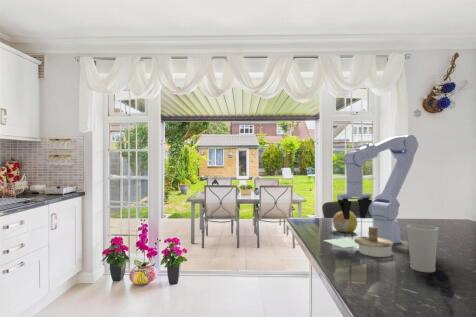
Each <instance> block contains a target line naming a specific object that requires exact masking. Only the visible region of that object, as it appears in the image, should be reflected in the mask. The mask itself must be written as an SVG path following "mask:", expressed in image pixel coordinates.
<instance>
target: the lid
mask: <svg viewBox="0 0 476 317" xmlns="http://www.w3.org/2000/svg"><path fill="white" fill-rule="evenodd" d="M353 240H354V242H355V243H357V244H360V245H364V246H370V247H390V246H394V245H393V244H394V243H393V242H392V241H391V240H388V239H384V238H379V237H378V228H377V227H373V226H368V236H357V237H355V238H354V239H353Z"/></svg>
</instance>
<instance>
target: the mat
mask: <svg viewBox="0 0 476 317" xmlns="http://www.w3.org/2000/svg"><path fill="white" fill-rule="evenodd" d="M322 241H323V242H326V243H329V244H331V245H334V246H337V247H339V248H343V249H344V248H345V249H346V248H352V247H353V248H355V247H359V244H357V243H355V242H354V239H351V238H349V237H344V238H333V239H324V240H322Z"/></svg>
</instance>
